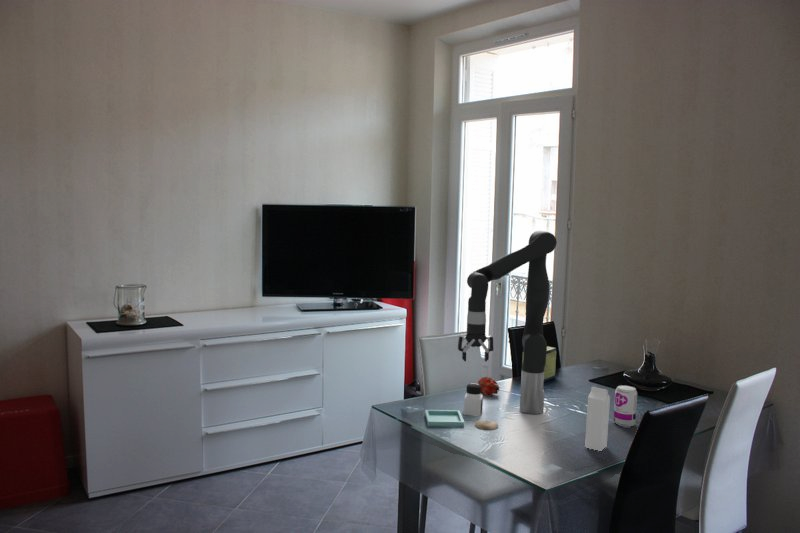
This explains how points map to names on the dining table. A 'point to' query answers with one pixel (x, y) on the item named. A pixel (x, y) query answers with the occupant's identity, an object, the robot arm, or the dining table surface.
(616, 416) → the supplement can
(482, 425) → the cork coaster
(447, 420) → the tray
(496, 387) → the dragon fruit
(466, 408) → the medicine bottle
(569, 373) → the dining table surface
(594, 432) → the milk
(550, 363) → the protein box
